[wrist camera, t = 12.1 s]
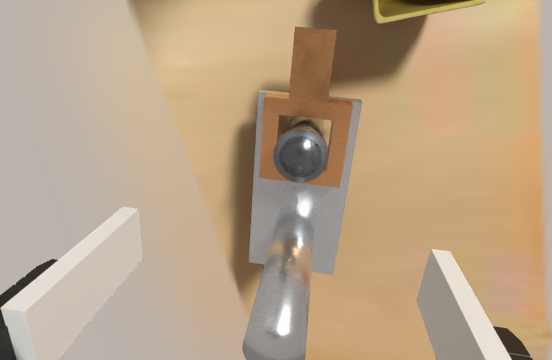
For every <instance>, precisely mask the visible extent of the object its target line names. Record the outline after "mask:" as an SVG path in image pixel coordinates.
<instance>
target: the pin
mask: <svg viewBox="0 0 552 360" xmlns="http://www.w3.org/2000/svg"><path fill="white" fill-rule="evenodd" d="M273 160H274V164H275V167H276V169H277V170H278V172H279V173H280V174H281V175H282V176H283V177H285V178H286V179H288V180H290V181H293V182H299V183H303V182H309V181H312V180H314V179H316V178H317V177H319V176H320V175H321V174H322V173H323V171H324V170H325V168H326V166H327V162H328V148H327V145H326V142H325V140H324V139H323V119H315V118H306V117H296V116H294V118H293V120H292V122H291V125H290V127H289V130H288V131H286V132H285V133H284V134H283V135H281V137H280V138H279V139H278V141H277V143H276V145H275V148H274V152H273Z"/></svg>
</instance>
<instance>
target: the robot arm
mask: <svg viewBox="0 0 552 360" xmlns="http://www.w3.org/2000/svg"><path fill="white" fill-rule="evenodd" d="M142 258H143V257H142V245H141V233H140V222H139V210H138V209H134V208H127V207H122V208H121V209H120V210H118V211H117V212H116V213H115V214H114V215H112V216H111V217H110V218H109V219H108V220H106V221H105V222H104V223H103V224H102V225H100V226H99V227H98V228H97V229H96V230H94V231H93V232H92V233H91V234H89V235H88V236H87V237H86V238H85V239H83V240H82V241H81V242H80V243H78V244H77V245H76V246H75V247H74V248H72V249H71V250H70V251H69V252H68V253H67V254H65V255H64V256H63V257H61V258H60V259H59V260H55V259H52V260H49V261H47V262H45V263H43V264H41V265H39V266H37V267H36V268H35V269H33V270H32V271H31V272H29V273H28V274H27V275H26V277H23V278H22V279H21V280H19V281H18V282H17V283H16V285H13V286H12V287H10V288H9V289H8V290H7V291H5V292H4V293H3V294H1V295H0V360H58V359H59V358H60V357H61V356H62V354H63V353H64V352H65V351H66V350H67V349H68V347H69V346H70V345H71V344H72V343H73V341H74V340H75V339H76V338H77V337H78V335H79V334H80V333H81V332H82V331H83V329H84V328H85V327H86V326H87V325H88V323H89V322H90V321H91V320H92V319H93V318H94V316H95V315H96V314H97V313H98V312H99V310H100V309H101V308H102V307H103V306H104V304H105V303H106V302H107V301H108V300H109V298H110V297H111V296H112V295H113V294H114V292H115V291H116V290H117V289H118V288H119V286H120V285H121V284H122V283H123V282H124V281H125V279H126V278H127V277H128V276H129V275H130V273H131V272H132V271H133V270H134V269H135V267H136V266H137V265H138V264H139V263H140V261H141V260H142ZM417 303H418V306H419V309H420V312H421V315H422V318H423V321H424V324H425V327H426V330H427V333H428V336H429V338H430V341H431V344H432V347H433V350H434V353H435V356H436V359H437V360H533V359H532V358H530V354H529V353H528V351H527V350H526V348H525V346H524V345H523V343H522V342H521V341H520V340H519V339H518V338H517V337H516V336H515V335H514V334H513V333H512V332H511V331H509V330H508V329H507V328H501V327H494V326H492V324H491V322H490V321H489V319H488V317H487V315H486V314H485V312H484V310H483V308H482V307H481V305H480V303H479V301H478V300H477V298H476V296H475V294H474V293H473V291H472V289H471V287H470V286H469V284H468V282H467V280H466V279H465V277H464V275H463V273H462V272H461V270H460V268H459V266H458V265H457V263H456V261H455V259H454V258H453V256H452V254H451V252H450V251H442V250H435V249H431V252H430V255H429V259H428V262H427V266H426V269H425V273H424V276H423V280H422V283H421V287H420V290H419V293H418V297H417Z"/></svg>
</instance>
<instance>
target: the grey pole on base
mask: <svg viewBox="0 0 552 360" xmlns="http://www.w3.org/2000/svg"><path fill="white" fill-rule="evenodd" d="M336 35H337V30H330V29H317V28H305V27H295V33H294V45H293V56H292V67H291V78H290V90H289V92H279V91H269V90H260V91H259V92H258V106H257V124H256V142H255V160H254V177H253V195H252V213H251V231H250V249H249V262H250V263H257V264H264V265H265V266H264V270H263V273H262V277H261V280H260V284H259V288H258V291H257V295H256V298H255V302H254V305H253V309H252V313H251V316H250V320H249V323H248V327H247V331H246V334H245V338H244V341H243V353H244V356H245V358H246V359H247V360H305V352H306V338H307V324H308V310H309V296H310V282H311V272H318V273H325V274H332V275H333V271H334V265H335V259H336V253H337V247H338V241H339V235H340V229H341V224H342V218H343V212H344V206H345V200H346V194H347V188H348V182H349V176H350V170H351V164H352V158H353V152H354V146H355V140H356V134H357V128H358V122H359V116H360V110H361V105H362V101H361V99H350V98H340V97H330V96H329V88H330V81H331V73H332V65H333V58H334V50H335V42H336ZM283 115H286V116H296V117H306V118H315V119H325V120H332V123H331V131H330V138H329V145H328V162H327V166H326V168H325V170H324V171H323V173H322V174H321V175H320V176H319V177H317V178H316V179H314V180H312V181H309V182H303V183H299V182H293V181H290V180H288V179H286V178H285V177H283V176H282V175H281V174H280V173H279V172H278V170H277V169H276V167H275V164H274V160H273V152H274V148H275V145H276V143H277V141H278V139H279V138H280V137H281V135H282V126H283Z"/></svg>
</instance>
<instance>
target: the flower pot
mask: <svg viewBox="0 0 552 360" xmlns="http://www.w3.org/2000/svg"><path fill="white" fill-rule="evenodd" d="M485 1H486V0H372V13H373V17H374V19H375V21H376V22H377V23H378V24H382V23H388V22H392V21H397V20H402V19H407V18H412V17H417V16H422V15H428V14H433V13H438V12H443V11H449V10H454V9H460V8H465V7H471V6H476V5H480V4H483V3H484V2H485Z"/></svg>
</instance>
